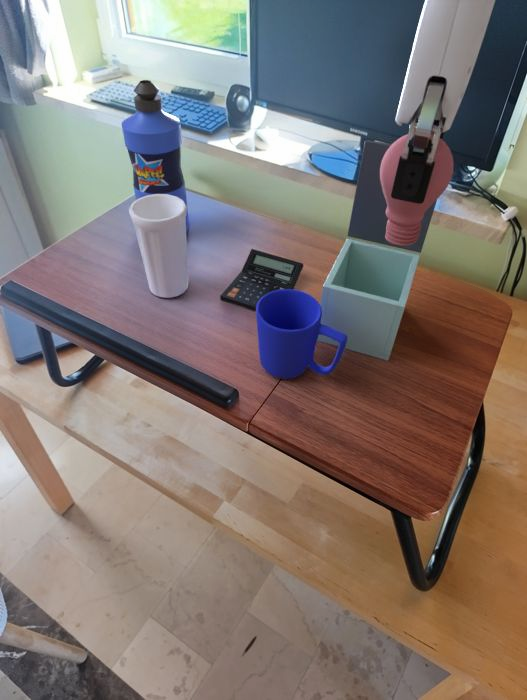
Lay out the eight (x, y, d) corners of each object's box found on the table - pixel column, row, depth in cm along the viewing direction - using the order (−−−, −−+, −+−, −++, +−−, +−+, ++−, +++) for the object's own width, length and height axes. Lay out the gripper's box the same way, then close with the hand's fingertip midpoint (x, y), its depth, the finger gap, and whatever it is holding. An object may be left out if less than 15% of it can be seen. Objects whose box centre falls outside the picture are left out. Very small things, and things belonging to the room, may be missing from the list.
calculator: (220, 299, 75) (219, 284, 73) (252, 262, 83) (252, 247, 81) (274, 317, 73) (275, 302, 71) (302, 276, 80) (303, 262, 78)
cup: (167, 267, 81) (156, 188, 71) (204, 284, 78) (198, 204, 68) (133, 290, 76) (116, 209, 66) (171, 310, 73) (159, 228, 63)
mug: (322, 408, 61) (333, 353, 53) (243, 370, 65) (243, 315, 58) (349, 368, 66) (361, 313, 59) (273, 335, 70) (277, 281, 63)
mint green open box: (388, 361, 67) (404, 307, 60) (315, 340, 69) (322, 286, 62) (403, 307, 75) (420, 254, 68) (338, 290, 78) (347, 237, 71)
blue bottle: (179, 243, 86) (162, 94, 69) (131, 236, 88) (103, 87, 70) (196, 218, 93) (184, 76, 75) (151, 211, 94) (130, 70, 76)
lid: (450, 156, 59) (454, 143, 62) (364, 141, 61) (373, 129, 65) (420, 253, 68) (425, 236, 71) (347, 236, 70) (355, 221, 74)
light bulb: (353, 233, 55) (373, 126, 47) (403, 221, 58) (430, 117, 49) (390, 266, 51) (419, 154, 42) (442, 251, 53) (479, 142, 45)
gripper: (434, -51, 43) (391, 145, 56) (404, -26, 32) (358, 214, 44) (522, -45, 41) (457, 157, 54) (523, -16, 30) (440, 231, 43)
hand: (413, 181), depth 49 cm, fingers closed on light bulb, 7 cm apart
